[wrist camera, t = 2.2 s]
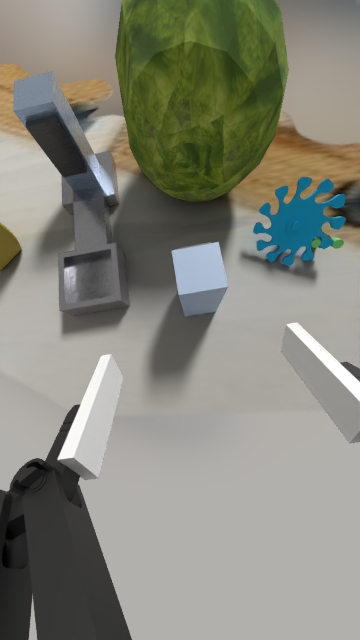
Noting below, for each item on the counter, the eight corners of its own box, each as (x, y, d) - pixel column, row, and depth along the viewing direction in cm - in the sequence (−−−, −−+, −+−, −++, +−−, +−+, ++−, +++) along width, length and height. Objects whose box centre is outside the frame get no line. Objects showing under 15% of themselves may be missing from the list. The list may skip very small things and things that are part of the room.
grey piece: (115, 163, 32) (69, 54, 20) (129, 306, 27) (79, 271, 15) (69, 173, 33) (-2, 72, 21) (75, 315, 28) (-14, 288, 16)
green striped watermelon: (261, 111, 32) (345, -201, 14) (249, 232, 28) (346, 16, 10) (156, 111, 34) (111, -161, 16) (132, 223, 30) (37, 31, 12)
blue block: (209, 277, 27) (216, 234, 17) (215, 311, 26) (228, 286, 16) (179, 282, 27) (170, 243, 17) (184, 316, 26) (178, 295, 16)
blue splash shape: (238, 244, 26) (292, 157, 20) (241, 237, 30) (285, 164, 24) (306, 283, 26) (383, 207, 19) (299, 270, 30) (359, 205, 24)
